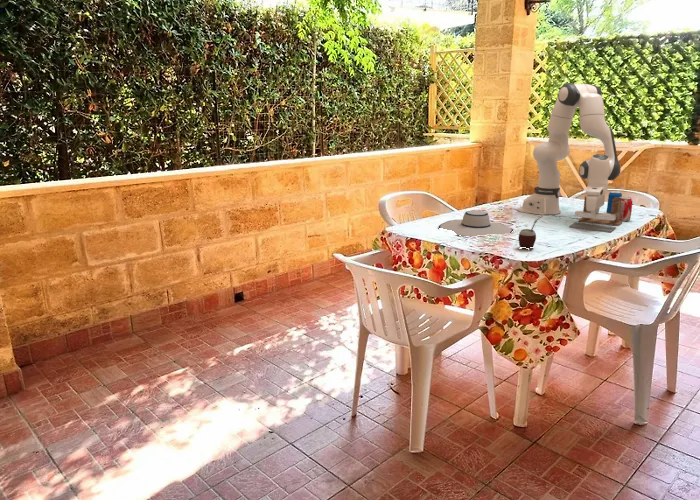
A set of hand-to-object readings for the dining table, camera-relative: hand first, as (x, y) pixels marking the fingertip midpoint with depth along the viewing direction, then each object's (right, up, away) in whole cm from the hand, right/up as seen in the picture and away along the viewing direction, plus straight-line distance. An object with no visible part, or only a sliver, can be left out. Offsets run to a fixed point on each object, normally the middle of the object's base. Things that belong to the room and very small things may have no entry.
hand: (594, 217), depth 252 cm
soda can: (+22, -1, +15) cm, 27 cm away
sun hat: (-57, -6, +6) cm, 57 cm away
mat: (0, -5, +2) cm, 5 cm away
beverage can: (+25, +4, +31) cm, 40 cm away
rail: (0, 0, 0) cm, 0 cm away
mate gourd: (-43, -16, -30) cm, 55 cm away
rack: (+9, -2, +13) cm, 16 cm away
